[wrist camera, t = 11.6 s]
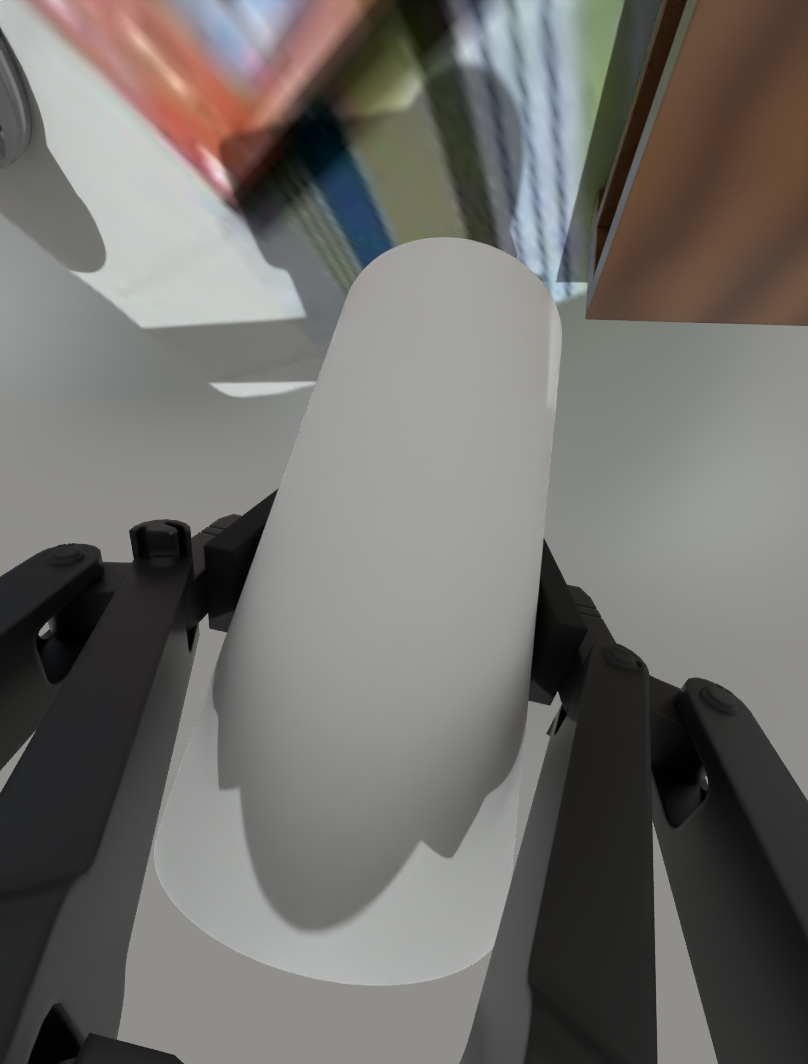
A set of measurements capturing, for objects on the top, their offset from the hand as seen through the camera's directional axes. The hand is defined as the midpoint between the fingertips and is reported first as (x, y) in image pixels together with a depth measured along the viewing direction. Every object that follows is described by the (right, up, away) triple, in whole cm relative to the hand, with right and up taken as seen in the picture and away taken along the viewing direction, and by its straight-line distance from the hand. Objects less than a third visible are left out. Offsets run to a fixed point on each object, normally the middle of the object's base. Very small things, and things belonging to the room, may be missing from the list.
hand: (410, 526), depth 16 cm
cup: (+1, +7, -1) cm, 7 cm away
